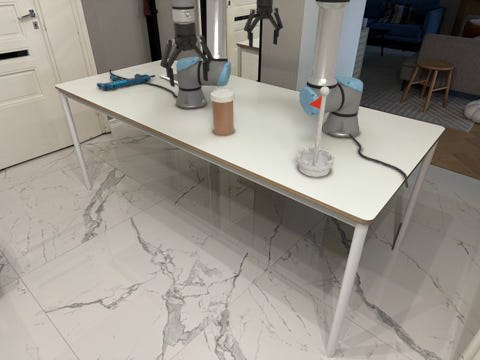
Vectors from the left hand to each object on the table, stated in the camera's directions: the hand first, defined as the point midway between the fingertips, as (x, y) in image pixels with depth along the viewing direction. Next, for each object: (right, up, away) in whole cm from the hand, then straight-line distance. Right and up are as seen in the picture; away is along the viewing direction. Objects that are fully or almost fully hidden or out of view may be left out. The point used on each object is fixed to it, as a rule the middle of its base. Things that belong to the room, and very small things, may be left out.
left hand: (189, 83), depth 129 cm
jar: (+12, -15, +21) cm, 28 cm away
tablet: (-15, +27, +85) cm, 90 cm away
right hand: (+31, +29, +38) cm, 57 cm away
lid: (+12, -1, +11) cm, 17 cm away
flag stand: (+46, -33, -7) cm, 57 cm away
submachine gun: (-51, +23, +80) cm, 98 cm away
